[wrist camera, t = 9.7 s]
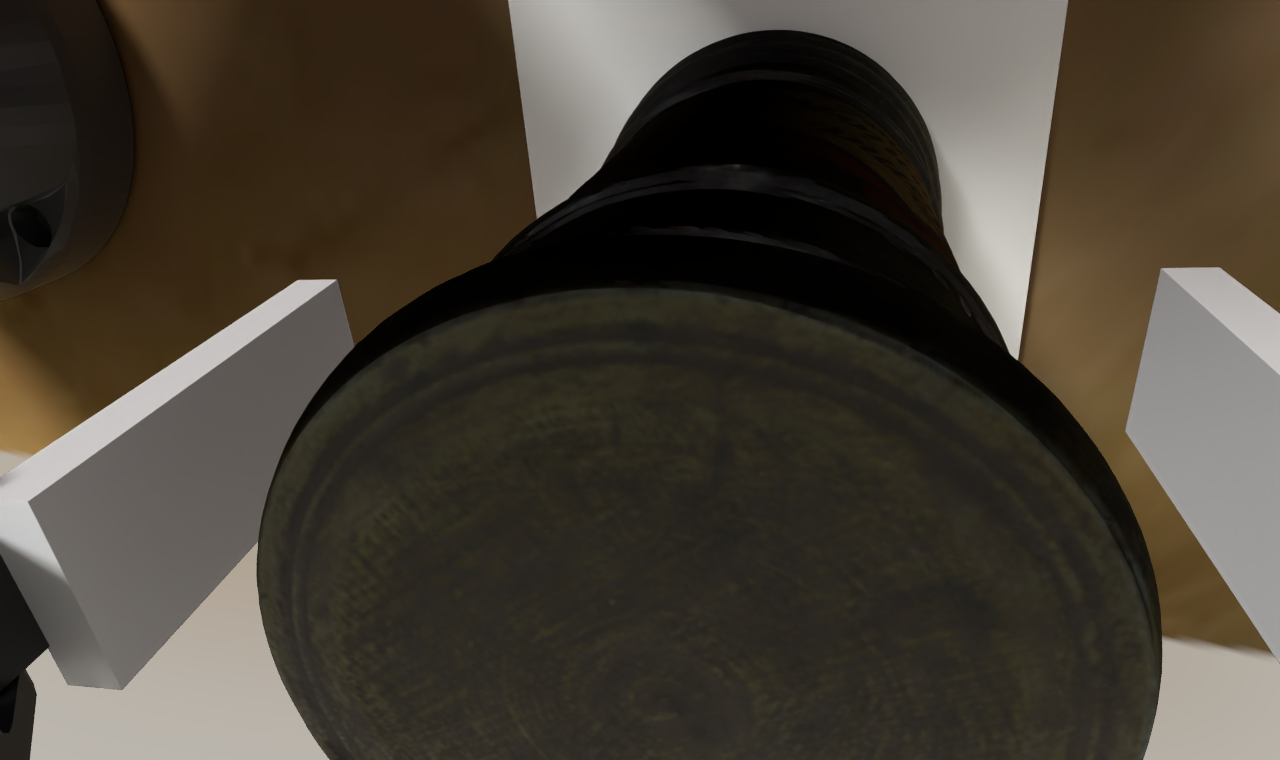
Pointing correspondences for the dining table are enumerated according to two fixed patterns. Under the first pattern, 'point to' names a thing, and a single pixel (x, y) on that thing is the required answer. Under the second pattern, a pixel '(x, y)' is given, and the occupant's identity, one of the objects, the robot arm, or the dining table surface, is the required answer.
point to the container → (712, 472)
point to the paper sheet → (857, 16)
